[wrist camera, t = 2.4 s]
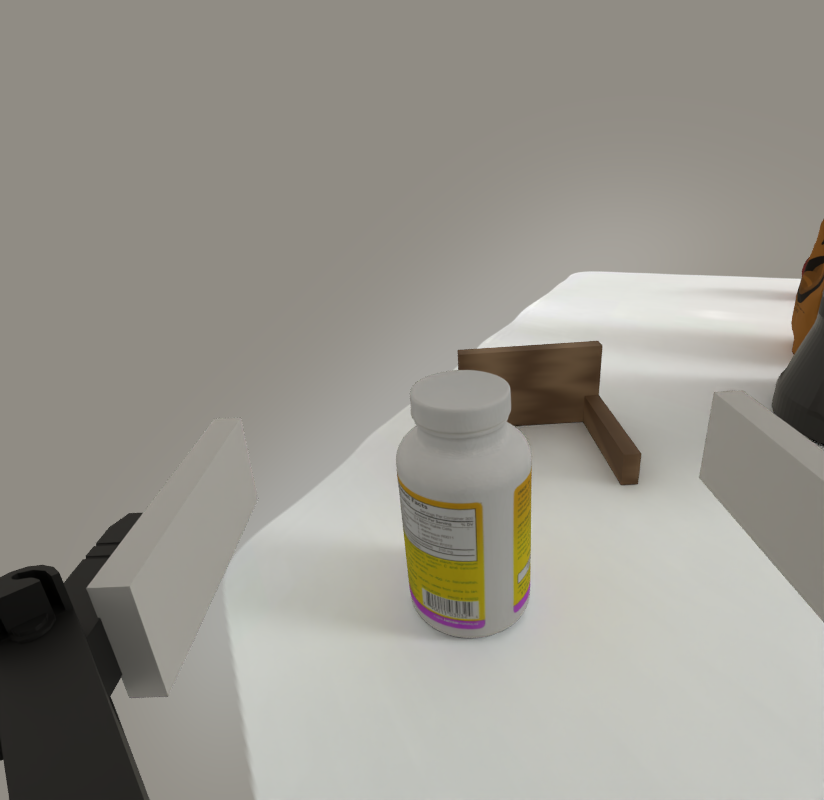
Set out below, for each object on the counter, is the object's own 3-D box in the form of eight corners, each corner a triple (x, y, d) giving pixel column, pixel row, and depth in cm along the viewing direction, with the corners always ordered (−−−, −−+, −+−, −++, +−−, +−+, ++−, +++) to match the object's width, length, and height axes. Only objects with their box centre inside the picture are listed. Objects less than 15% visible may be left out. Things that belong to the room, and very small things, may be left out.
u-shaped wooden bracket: (592, 414, 50) (598, 340, 47) (637, 484, 40) (648, 395, 37) (460, 422, 50) (457, 349, 47) (471, 493, 40) (468, 406, 37)
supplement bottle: (494, 544, 35) (492, 352, 30) (553, 620, 29) (564, 399, 24) (394, 575, 33) (372, 377, 28) (435, 662, 27) (418, 433, 22)
